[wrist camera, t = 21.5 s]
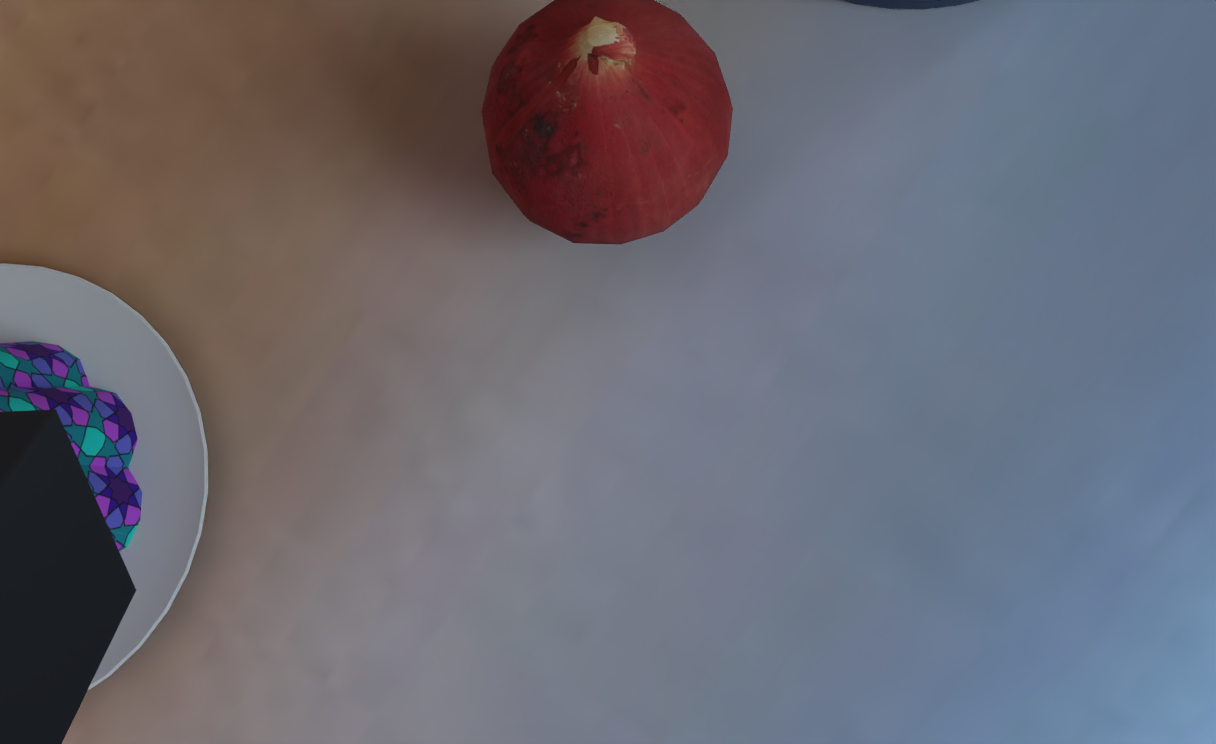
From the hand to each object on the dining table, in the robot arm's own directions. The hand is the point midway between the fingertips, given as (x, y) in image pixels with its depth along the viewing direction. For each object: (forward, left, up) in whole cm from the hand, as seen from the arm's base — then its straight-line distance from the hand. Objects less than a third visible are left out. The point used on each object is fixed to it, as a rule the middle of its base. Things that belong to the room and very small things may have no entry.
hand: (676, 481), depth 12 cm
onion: (+1, -9, -17) cm, 19 cm away
